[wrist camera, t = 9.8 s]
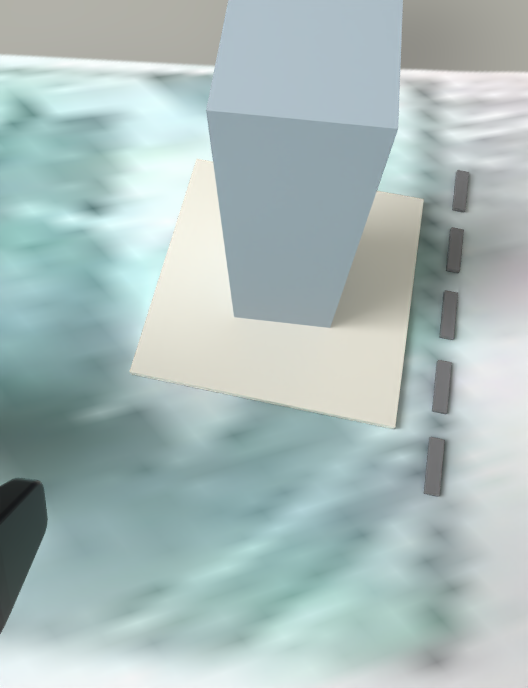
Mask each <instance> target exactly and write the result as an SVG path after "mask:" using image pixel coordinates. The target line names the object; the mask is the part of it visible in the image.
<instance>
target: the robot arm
mask: <svg viewBox="0 0 528 688" xmlns="http://www.w3.org/2000/svg"><path fill="white" fill-rule="evenodd" d="M47 520H48V519H47V509H46V501H45V493H44V487H43V484H42V483H41V482H40V481H38V480H33V479H25V478H15V479H12V480H10V481H8V482H6V483H5V484H3V485H1V486H0V634H1V632H2V630H3V628H4V626H5V624H6V622H7V620H8V618H9V615H10V613H11V611H12V609H13V606H14V604H15V602H16V599H17V597H18V595H19V592H20V590H21V588H22V585H23V583H24V581H25V578H26V576H27V574H28V571H29V569H30V567H31V564H32V562H33V560H34V557H35V555H36V553H37V550H38V548H39V546H40V543H41V541H42V539H43V536H44V534H45V531H46V528H47Z"/></svg>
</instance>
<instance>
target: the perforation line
mask: <svg viewBox="0 0 528 688" xmlns="http://www.w3.org/2000/svg"><path fill="white" fill-rule="evenodd" d="M468 177H469V172H466V171H460V170H457V172H456V179H455V189H454V199H453V209H452V210H455V211H461V212H464V211H465V210H466V199H467V188H468ZM463 232H464V230H463V229H458V228H451V229H450V238H449V248H448V258H447V268H446V271H451V272H456V273H459V272H460V265H461V254H462V243H463ZM457 298H458V293H457V292H451V291H446V290H445V292H444V298H443V308H442V317H441V327H440V338H445V339H450V340H453V339H454V331H455V320H456V309H457ZM451 364H452V362H447V361H442V360H438V361H437V367H436V377H435V387H434V396H433V406H432V411H433V412H438V413H443V414H446V413H447V408H448V397H449V386H450V375H451ZM444 441H445V440H443V439H438V438H433V437H430V438H429V446H428V456H427V466H426V476H425V485H424V494H429V495H433V496H440V485H441V474H442V463H443V452H444Z"/></svg>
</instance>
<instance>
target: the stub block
mask: <svg viewBox="0 0 528 688" xmlns="http://www.w3.org/2000/svg"><path fill="white" fill-rule="evenodd" d="M402 8H403V0H229V1H228V5H227V10H226V15H225V20H224V25H223V30H222V35H221V40H220V45H219V50H218V55H217V59H216V64H215V69H214V74H213V79H212V84H211V89H210V94H209V99H208V104H207V109H206V113H207V120H208V127H209V135H210V142H211V150H212V157H213V165H214V172H215V179H216V187H217V194H218V202H219V209H220V217H221V224H222V231H223V239H224V246H225V254H226V261H227V269H228V276H229V283H230V291H231V298H232V306H233V313H234V317H237V318H246V319H255V320H264V321H273V322H282V323H290V324H299V325H308V326H317V327H326V328H330V327H331V324H332V321H333V318H334V315H335V312H336V309H337V306H338V303H339V300H340V297H341V294H342V292H343V289H344V286H345V283H346V280H347V277H348V274H349V271H350V268H351V265H352V262H353V259H354V256H355V253H356V251H357V248H358V245H359V242H360V239H361V236H362V233H363V230H364V227H365V224H366V221H367V218H368V215H369V212H370V209H371V207H372V204H373V201H374V198H375V195H376V192H377V189H378V186H379V183H380V180H381V177H382V174H383V171H384V168H385V166H386V163H387V160H388V157H389V154H390V151H391V148H392V145H393V142H394V139H395V136H396V133H397V130H398V116H399V89H400V61H401V35H402Z"/></svg>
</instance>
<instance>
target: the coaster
mask: <svg viewBox="0 0 528 688" xmlns="http://www.w3.org/2000/svg"><path fill="white" fill-rule="evenodd" d="M423 201H424V199H420V198H415V197H409V196H403V195H398V194H392V193H387V192H381V191H377V192H376V195H375V198H374V201H373V204H372V207H371V209H370V212H369V215H368V218H367V221H366V224H365V227H364V230H363V233H362V236H361V239H360V242H359V245H358V248H357V251H356V253H355V256H354V259H353V262H352V265H351V268H350V271H349V274H348V277H347V280H346V283H345V286H344V289H343V292H342V294H341V297H340V300H339V303H338V306H337V309H336V312H335V315H334V318H333V321H332V324H331V327H330V328H326V327H317V326H308V325H299V324H290V323H282V322H273V321H264V320H255V319H246V318H237V317H234V313H233V306H232V298H231V291H230V283H229V276H228V269H227V261H226V254H225V246H224V239H223V231H222V224H221V217H220V209H219V202H218V194H217V187H216V179H215V172H214V165H213V162H212V161H206V160H200V159H196V163H195V166H194V169H193V172H192V175H191V178H190V182H189V185H188V188H187V191H186V194H185V197H184V201H183V204H182V207H181V210H180V213H179V216H178V220H177V223H176V226H175V229H174V232H173V235H172V238H171V242H170V245H169V248H168V251H167V254H166V257H165V261H164V264H163V267H162V270H161V273H160V276H159V280H158V283H157V286H156V289H155V292H154V295H153V299H152V302H151V305H150V308H149V311H148V314H147V318H146V321H145V324H144V327H143V330H142V333H141V337H140V340H139V343H138V346H137V349H136V352H135V356H134V359H133V362H132V365H131V368H130V371H129V372H130V373H131V374H132V375H136V376H141V377H146V378H151V379H155V380H160V381H165V382H170V383H175V384H179V385H184V386H189V387H194V388H199V389H203V390H208V391H213V392H218V393H222V394H227V395H232V396H237V397H242V398H246V399H251V400H256V401H261V402H266V403H270V404H275V405H280V406H285V407H289V408H294V409H299V410H304V411H309V412H313V413H318V414H323V415H328V416H333V417H337V418H342V419H347V420H352V421H356V422H361V423H366V424H371V425H376V426H380V427H385V428H390V429H394V428H395V425H396V417H397V409H398V401H399V393H400V385H401V377H402V369H403V361H404V353H405V345H406V337H407V329H408V321H409V313H410V305H411V297H412V289H413V281H414V273H415V265H416V257H417V249H418V241H419V233H420V225H421V217H422V209H423Z"/></svg>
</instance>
